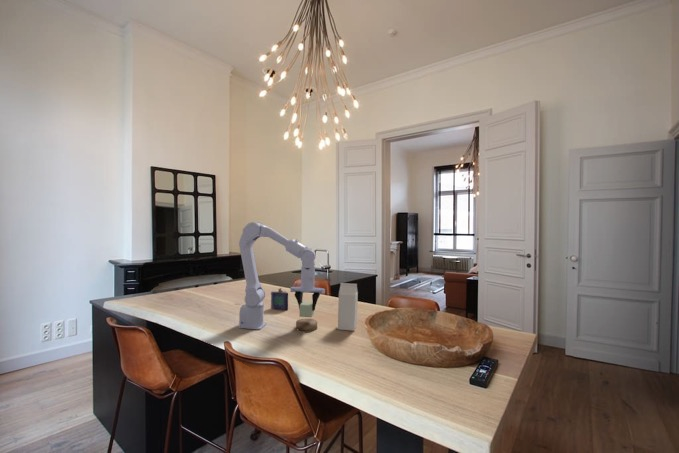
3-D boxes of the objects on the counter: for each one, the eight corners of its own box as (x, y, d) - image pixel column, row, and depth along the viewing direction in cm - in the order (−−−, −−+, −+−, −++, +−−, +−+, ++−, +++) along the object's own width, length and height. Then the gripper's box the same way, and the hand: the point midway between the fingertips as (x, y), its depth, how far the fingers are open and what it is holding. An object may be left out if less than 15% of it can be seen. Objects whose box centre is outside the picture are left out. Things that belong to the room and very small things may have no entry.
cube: (299, 316, 128) (299, 304, 128) (302, 313, 133) (302, 301, 133) (311, 317, 128) (311, 305, 128) (313, 314, 133) (314, 302, 133)
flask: (269, 309, 157) (270, 288, 157) (272, 307, 160) (273, 287, 160) (286, 311, 155) (287, 289, 155) (289, 309, 158) (289, 288, 158)
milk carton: (354, 331, 128) (355, 285, 128) (337, 329, 130) (338, 284, 130) (356, 325, 135) (358, 282, 135) (341, 324, 137) (342, 281, 136)
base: (293, 330, 127) (293, 324, 127) (299, 323, 136) (299, 317, 136) (314, 332, 126) (314, 326, 126) (319, 325, 135) (319, 319, 135)
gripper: (288, 278, 128) (287, 311, 128) (322, 280, 126) (322, 313, 126) (293, 275, 135) (292, 306, 135) (326, 277, 133) (325, 308, 133)
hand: (307, 309), depth 131 cm, fingers closed on cube, 5 cm apart
